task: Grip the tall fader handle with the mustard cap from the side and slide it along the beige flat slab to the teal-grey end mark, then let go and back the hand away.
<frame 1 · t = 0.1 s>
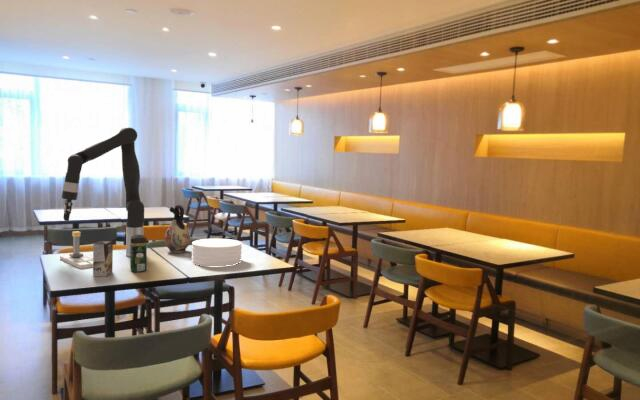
hand: (65, 219, 260), 22 cm above the table, tool pointing down, fingers open, 8 cm apart
coffee jar: (138, 270, 245), on the table
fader: (76, 244, 260), point 9 cm above the table, slide at -6.0 cm
coffee box: (102, 274, 235), on the table
plate stack: (216, 262, 273), on the table
beige flat slab: (80, 262, 256), on the table
ceramic jug: (177, 252, 296), on the table
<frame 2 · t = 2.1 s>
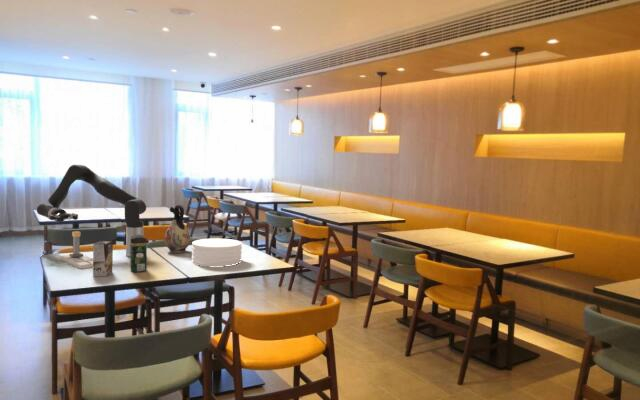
hand: (68, 218, 265), 22 cm above the table, tool horizontal, fingers open, 8 cm apart
nothing on the table moved.
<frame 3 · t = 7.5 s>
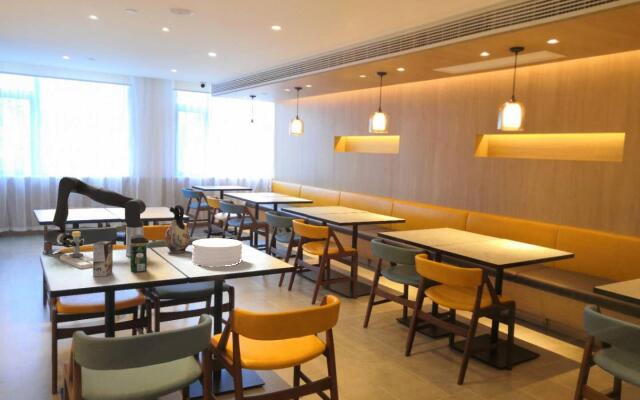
hand: (78, 244, 258), 10 cm above the table, tool horizontal, fingers closed on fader, 2 cm apart
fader: (76, 244, 260), point 9 cm above the table, slide at -6.0 cm, touching gripper
everything else where it was.
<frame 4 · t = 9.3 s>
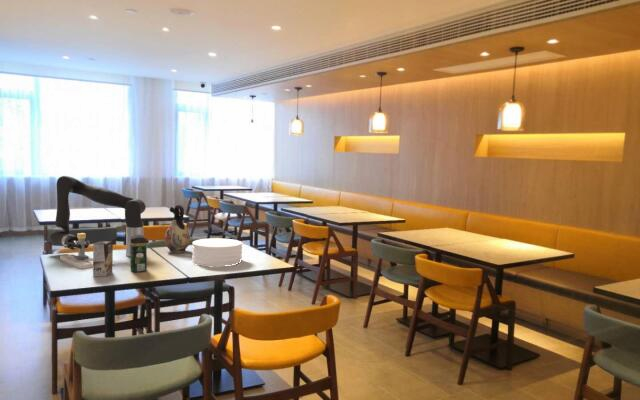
hand: (83, 246, 253), 10 cm above the table, tool horizontal, fingers closed on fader, 2 cm apart
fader: (81, 246, 255), point 9 cm above the table, slide at 1.0 cm, touching gripper
everything else where it was.
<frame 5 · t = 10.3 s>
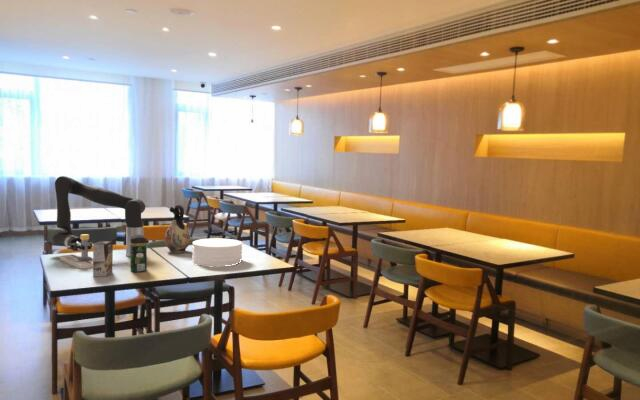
hand: (87, 247, 250), 10 cm above the table, tool horizontal, fingers closed on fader, 2 cm apart
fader: (84, 247, 252), point 9 cm above the table, slide at 5.2 cm, touching gripper
everything else where it was.
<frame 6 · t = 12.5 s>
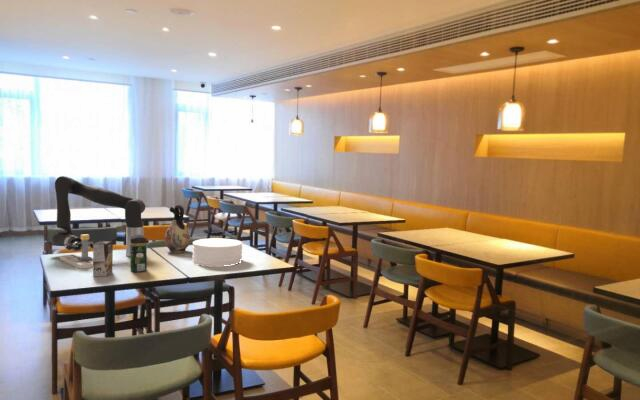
hand: (86, 247, 251), 9 cm above the table, tool horizontal, fingers open, 8 cm apart
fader: (84, 247, 252), point 9 cm above the table, slide at 5.5 cm
everything else where it was.
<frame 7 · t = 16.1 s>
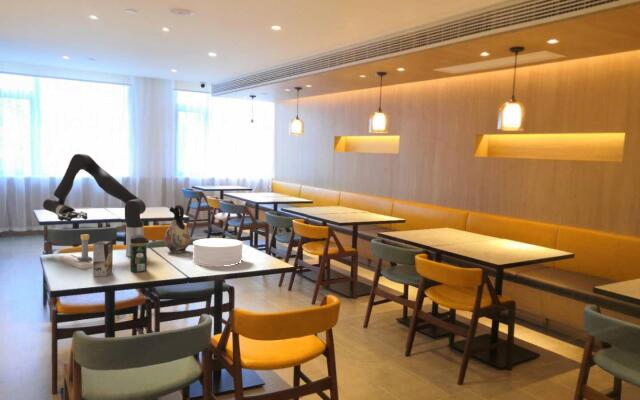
hand: (78, 218, 261), 23 cm above the table, tool horizontal, fingers open, 8 cm apart
nothing on the table moved.
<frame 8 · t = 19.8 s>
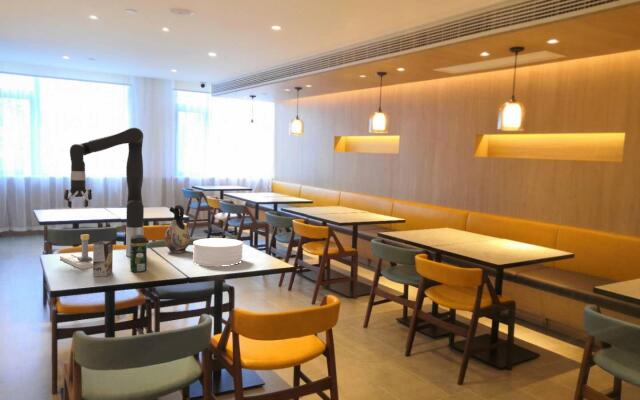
hand: (78, 207, 271), 28 cm above the table, tool pointing down, fingers open, 8 cm apart
at the end: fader slide at 5.5 cm; the gripper is holding nothing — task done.
